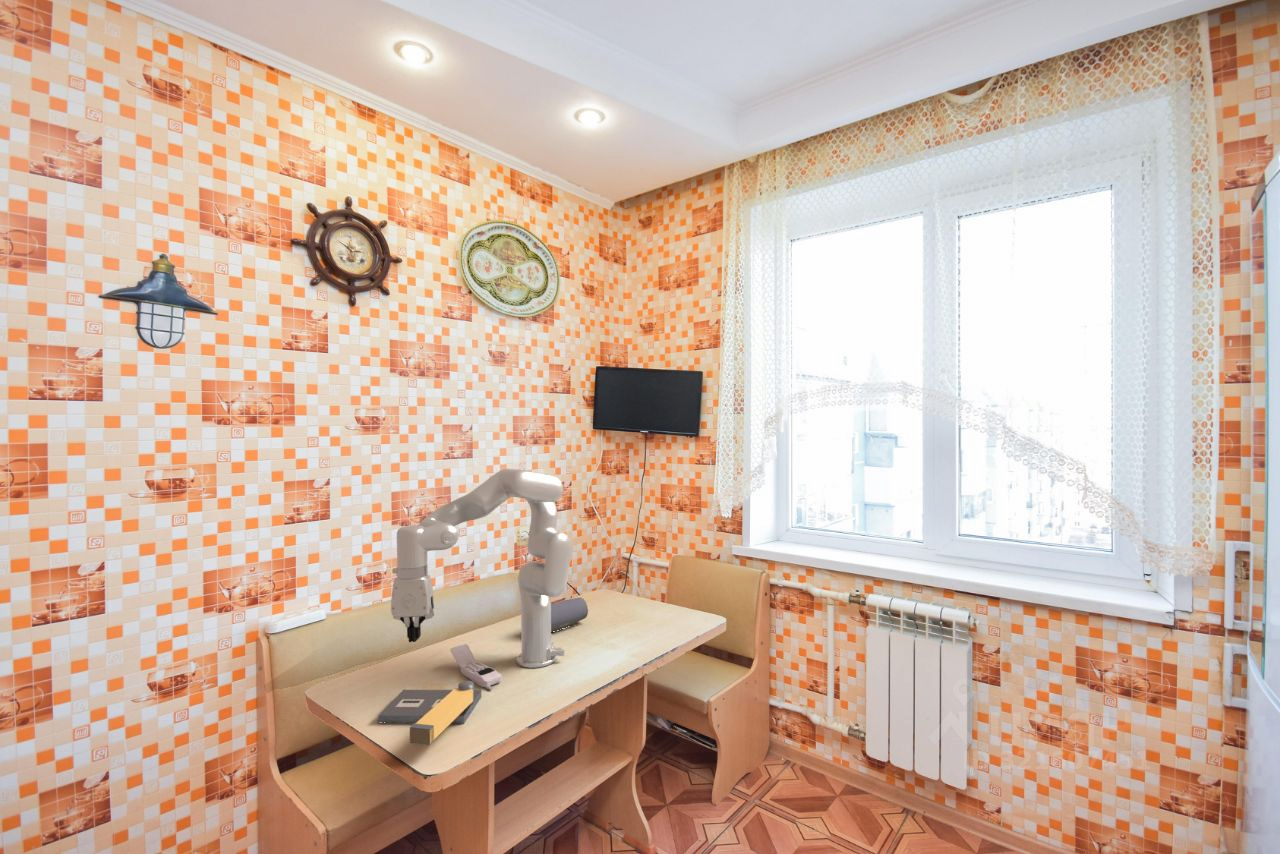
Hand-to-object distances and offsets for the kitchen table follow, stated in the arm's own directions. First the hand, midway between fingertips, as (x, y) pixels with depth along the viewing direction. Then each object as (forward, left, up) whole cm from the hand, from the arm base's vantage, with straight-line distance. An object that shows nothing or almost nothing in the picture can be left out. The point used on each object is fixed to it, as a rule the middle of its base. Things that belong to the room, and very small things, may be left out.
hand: (414, 640), depth 147 cm
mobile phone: (-10, -20, -19) cm, 29 cm away
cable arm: (-13, +12, -16) cm, 24 cm away
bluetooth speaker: (-28, -59, -18) cm, 68 cm away
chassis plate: (-5, +1, -18) cm, 19 cm away
